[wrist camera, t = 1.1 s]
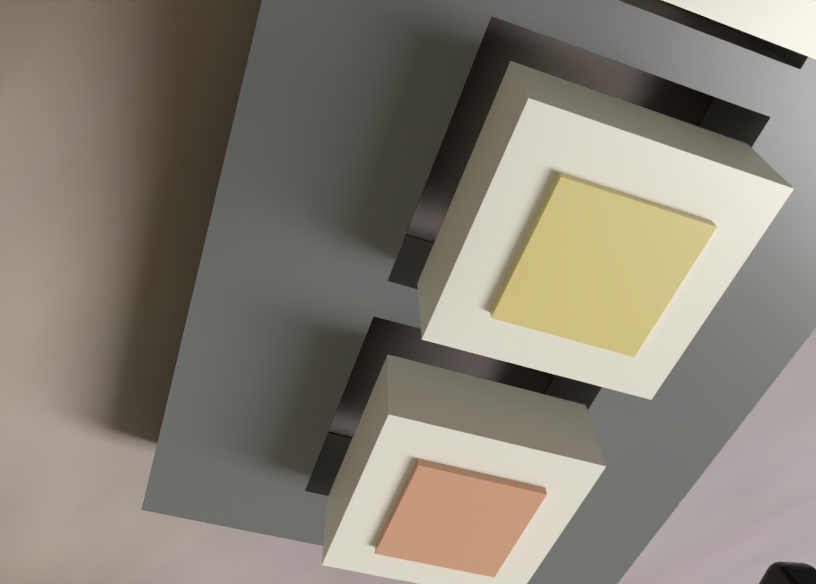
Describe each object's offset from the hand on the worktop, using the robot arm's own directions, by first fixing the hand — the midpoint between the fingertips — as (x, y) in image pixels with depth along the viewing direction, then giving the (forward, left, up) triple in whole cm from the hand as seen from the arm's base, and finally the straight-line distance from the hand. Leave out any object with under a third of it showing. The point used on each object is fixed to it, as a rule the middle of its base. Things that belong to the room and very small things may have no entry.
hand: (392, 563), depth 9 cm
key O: (-4, +6, -8) cm, 10 cm away
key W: (-4, -1, -8) cm, 9 cm away
